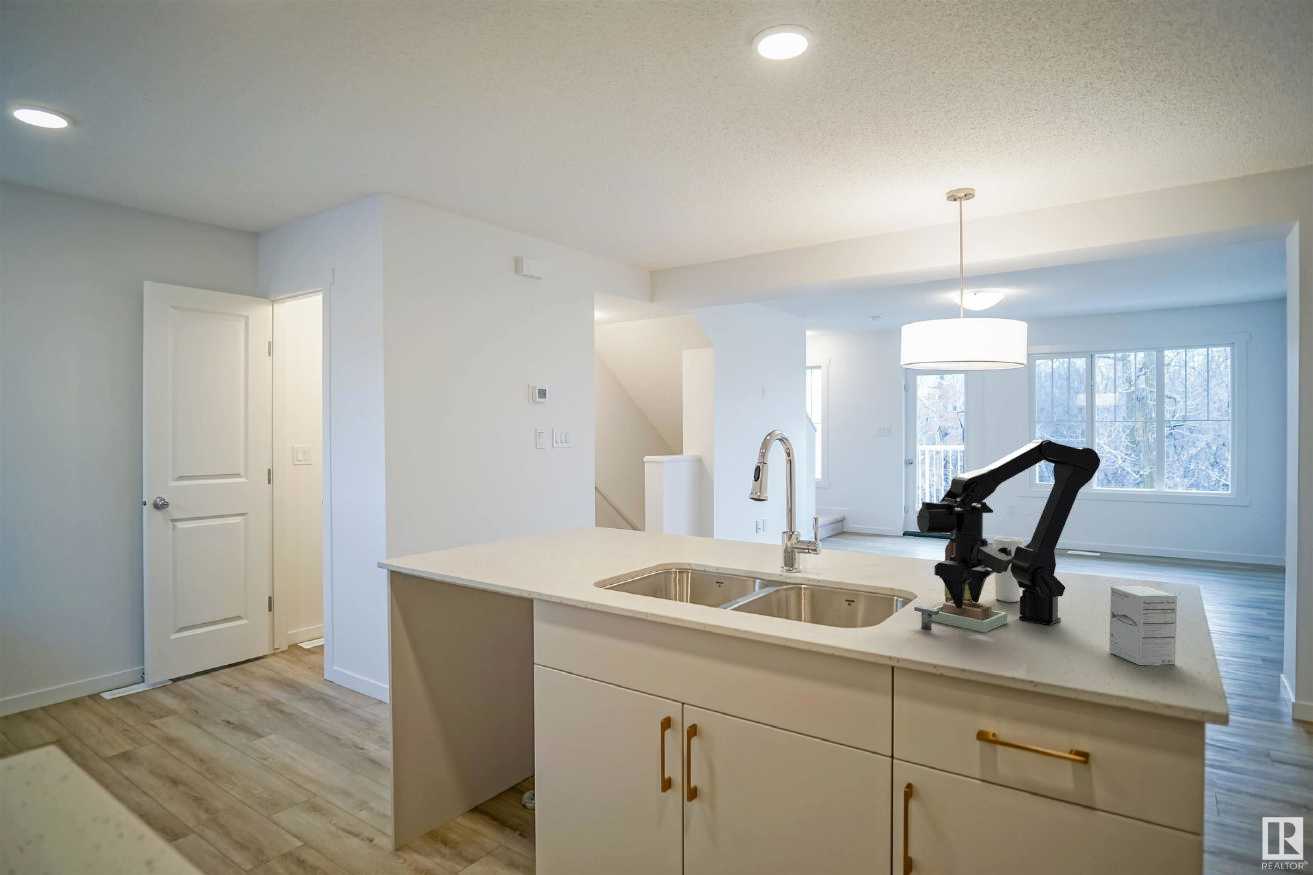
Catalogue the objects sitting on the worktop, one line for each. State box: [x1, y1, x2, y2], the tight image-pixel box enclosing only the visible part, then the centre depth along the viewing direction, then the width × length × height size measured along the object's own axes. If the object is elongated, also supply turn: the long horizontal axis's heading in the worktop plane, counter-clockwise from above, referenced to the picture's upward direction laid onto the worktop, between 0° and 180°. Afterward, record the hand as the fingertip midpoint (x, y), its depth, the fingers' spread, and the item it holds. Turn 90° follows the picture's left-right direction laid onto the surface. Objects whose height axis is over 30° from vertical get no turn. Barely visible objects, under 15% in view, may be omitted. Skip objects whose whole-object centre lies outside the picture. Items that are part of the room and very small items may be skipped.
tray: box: [932, 604, 1008, 633], centre depth 151 cm, size 12×11×2 cm
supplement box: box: [1108, 585, 1178, 666], centre depth 127 cm, size 7×7×13 cm
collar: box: [942, 600, 993, 621], centre depth 151 cm, size 8×6×3 cm
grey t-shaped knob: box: [913, 605, 939, 631], centre depth 145 cm, size 5×2×4 cm, turn 41°
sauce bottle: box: [944, 530, 973, 603], centre depth 165 cm, size 7×6×20 cm
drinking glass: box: [992, 536, 1025, 603], centre depth 170 cm, size 7×7×15 cm
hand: (967, 605), depth 151 cm, fingers open, 7 cm apart
